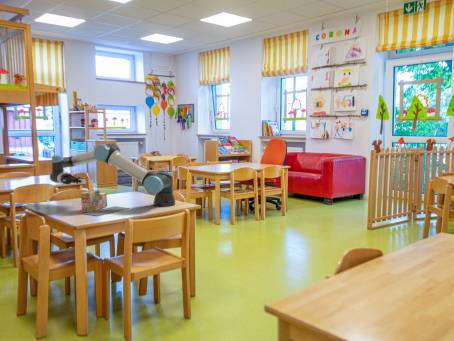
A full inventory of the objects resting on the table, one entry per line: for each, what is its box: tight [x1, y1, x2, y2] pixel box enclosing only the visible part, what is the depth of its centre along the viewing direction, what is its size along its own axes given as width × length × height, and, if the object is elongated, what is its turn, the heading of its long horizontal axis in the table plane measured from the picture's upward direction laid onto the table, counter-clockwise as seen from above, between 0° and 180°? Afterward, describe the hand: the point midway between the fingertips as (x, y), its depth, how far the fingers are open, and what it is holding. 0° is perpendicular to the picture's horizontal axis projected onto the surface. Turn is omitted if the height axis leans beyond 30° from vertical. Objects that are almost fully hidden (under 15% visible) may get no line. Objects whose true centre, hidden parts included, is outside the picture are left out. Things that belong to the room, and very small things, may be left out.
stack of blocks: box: [80, 189, 108, 213], centre depth 271 cm, size 21×6×12 cm, turn 168°
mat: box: [82, 205, 130, 217], centre depth 266 cm, size 13×28×1 cm, turn 150°
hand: (84, 181), depth 275 cm, fingers closed
